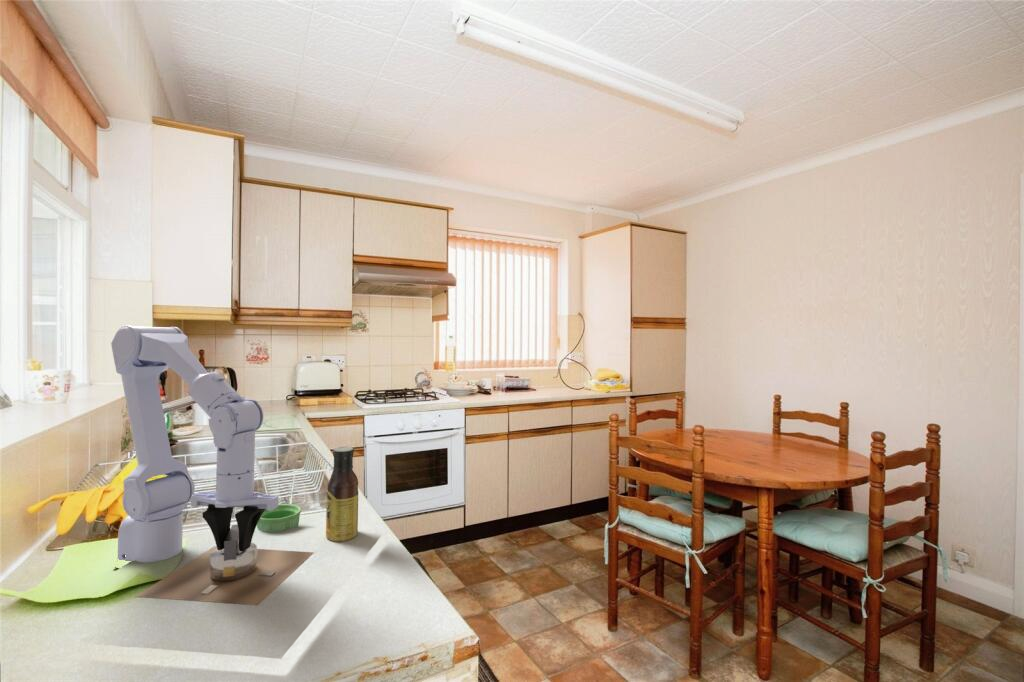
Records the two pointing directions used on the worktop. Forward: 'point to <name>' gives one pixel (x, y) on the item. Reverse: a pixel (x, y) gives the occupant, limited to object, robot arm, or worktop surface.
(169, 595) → the baseplate
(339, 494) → the sauce bottle
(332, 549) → the worktop surface
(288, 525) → the ramekin
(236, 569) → the silver rounded piece
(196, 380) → the robot arm
